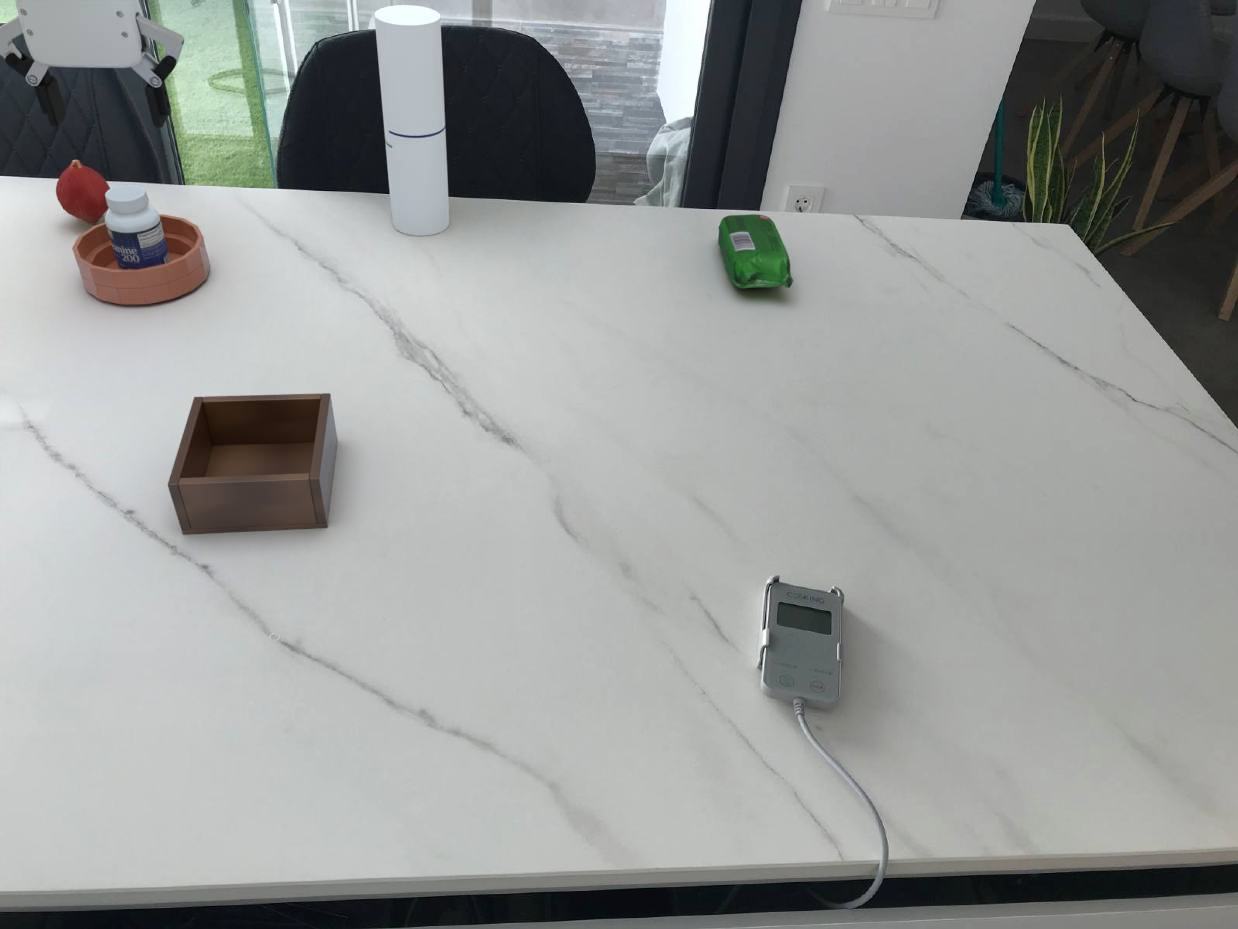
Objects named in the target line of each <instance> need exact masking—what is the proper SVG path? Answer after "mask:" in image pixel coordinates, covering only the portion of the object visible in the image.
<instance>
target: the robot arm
mask: <svg viewBox="0 0 1238 929" xmlns="http://www.w3.org/2000/svg"><path fill="white" fill-rule="evenodd" d="M14 1H15V2H14V3H15V6H16V11H17V14H18V15H17V16H16V17H14V18H12V19H11V20H9V21H7V22H6V23H4V24H1V26H0V56H1V57H2V58H3V59H4V61H5V64H6V65H7V66H8V67H9V68H11V69H12V70H14V71H15V72H17V73H18V74H19V75H21V76H22V77H23V78H24V79H25V81H26V82H27V84H28V85H29V86H31V87H33V88H34V91H35V95H36V97H37V100H38V103H39V107H40V109H41V112H42V115H46V116H47V119H48V121H49V125H50V127H56V128H57V127H59V126H60V125H61V124H62V123H63V122H64V120H65V119H66V117H67V116H68V112H67V109H66V105H65V102H64V99H63V95H62V93H61V88H60V86H59V83H58V79H57V78H56V77H55V75H54V74H51V72H50V70H51V69H52V68H53V67H54V68H89V69H90V68H91V69H92V68H93V69H94V68H95V69H96V68H97V69H126V68H127V69H128V68H131V69H132V70H133V71H134V72H135V73H136V74H137V75H139V76H140V77H141V79H143V80H144V81H145V82H146V83H147V85H146V86H145V87H144V92H145V97H146V100H147V104H148V108H149V112H150V116H151V120H152V121H151V122H152V125H153V127H156V128H163V127H164V125H165V123H166V121H167V119H168V117H170V116H171V113H172V108H171V107H172V106H171V103H170V98H169V94H168V90H167V86H166V82H165V81H166V79H167V78H168V77H169V76H170V74H172V72H173V71H174V70H175V68H176V66H177V65H178V63H179V59H180V57H181V53H182V50H183V47H184V43H185V37H184V36H183V35H182V34H180V33H178V32H177V31H174V30H172V29H170V28H169V27H165V26H163V25H162V24H159V23H158V22H156V21H153V20H151V19H149V18H147V17H145V15H144V13H143V9H142V6H141V4H140V0H14ZM20 35H23V38H24V41H25V44H26V47H27V50H28V52H29V54H30V56H31V57H29V56H28V55H27V54H26V53H24V52H22V51H21V50H20V49H18V48H17V47H16V44H14V42H13V40H14V39H15V38H17V37H19V36H20ZM151 40H152V41H155V42H157V43H160V44H161V45H162V46H163V47H164V49H165V51H164V55H163V57H162V59H160V61H158V60H157V59H156V58H155V57H154V56H153V55H152V54H150V52H148V51H150V48H151Z"/></svg>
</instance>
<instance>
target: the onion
mask: <svg viewBox="0 0 1238 929" xmlns="http://www.w3.org/2000/svg"><path fill="white" fill-rule="evenodd" d="M109 189H111V187H110V185H109V183H108V182H107V180H106V179H105V178H104V177H103V176H102V174H100V172H98V171H96V170H94V169H93V168H91V167H89V166H86V165H83V164H82V163H81V162H80V160H79V159H73V160H71V163H70V165H69V166H68V167H66V168H65V170H63V171H62V172H61V174H60V176H59V178H58V180H57V182H56V186H55V195H56V199H57V201H58V203H59V204H60V206H61V208H62V209H63V210H64V211H65V212H66V213H67V214H68V215H70V216H71V217H74V218H76V219H78V220H81V221H84V222H86V223H87V224H90V225H94V224H97V223H98V222H99V221H100V220H101V218H102V217H103V216H105V215H106V213H107V212H108V211H109V210H110V209H109V207H108V205H107V201H106V197H105V194H106V192H107V191H108V190H109Z"/></svg>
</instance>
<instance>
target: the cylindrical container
mask: <svg viewBox="0 0 1238 929" xmlns="http://www.w3.org/2000/svg"><path fill="white" fill-rule="evenodd" d="M373 16H374V25H375V38H376V48H377V61H378V72H379V73H378V74H379V83H380V96H381V108H382V117H383V119H382V120H383V131H384V132H383V133H384V141H385V142H384V143H385V153H386V165H387V175H388V176H387V177H388V179H387V180H388V188H389V189H388V190H389V201H390V213H391V224H392V226H393V228H394V229H395V230H396V231H397V232H399V233H401V234H405V235H408V236H415V237H426V236H427V237H428V236H432V235H437V234H440V233H442V232H444V231H446V230H447V228H449V226H450V205H449V204H450V203H449V182H448V181H449V180H448V179H449V178H448V159H447V158H448V157H447V138H446V137H447V134H446V115H445V114H446V112H445V92H444V91H445V90H444V68H443V67H444V66H443V64H444V63H443V46H442V44H443V43H442V28H441V27H442V25H441V14H440V13H439V12H438V11H437V10H435V9H433V8H430V7H427V6H421V5H411V4H398V5H397V4H396V5H388V6H385V7H381V8H379V9H377V10H376V11H375V12H374V15H373Z"/></svg>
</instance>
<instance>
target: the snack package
mask: <svg viewBox="0 0 1238 929" xmlns="http://www.w3.org/2000/svg"><path fill="white" fill-rule="evenodd" d="M717 242H718V247H719V249H720V252H721V255H722V258H723V263H724V266H725V269H726V272H727V273H728V276H729V279H730V281H731V282H732V284H733V285H735V287H736V288H738V289H751V288H753V289H754V288H775V287H778V286H783V287H784V288H785V289H786V288H787V289H790V288H791V286H792V284H793V283H794V281H795V280H794V279H793V277H792V275H791V261H790V256H789V253H788V251H787V248H786V246H785V244H784V242H783V240H782V237H781V235H780V232H779V229H778V228H777V225H776V224H775V222H774V221H773V220H772V219H771V217H769V216H766V215H763V214H756V213H755V214H754V213H753V214H752V213H749V214H731V215H725V216H724V217H722V219H721V221H720V223H719V225H718V238H717Z"/></svg>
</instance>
